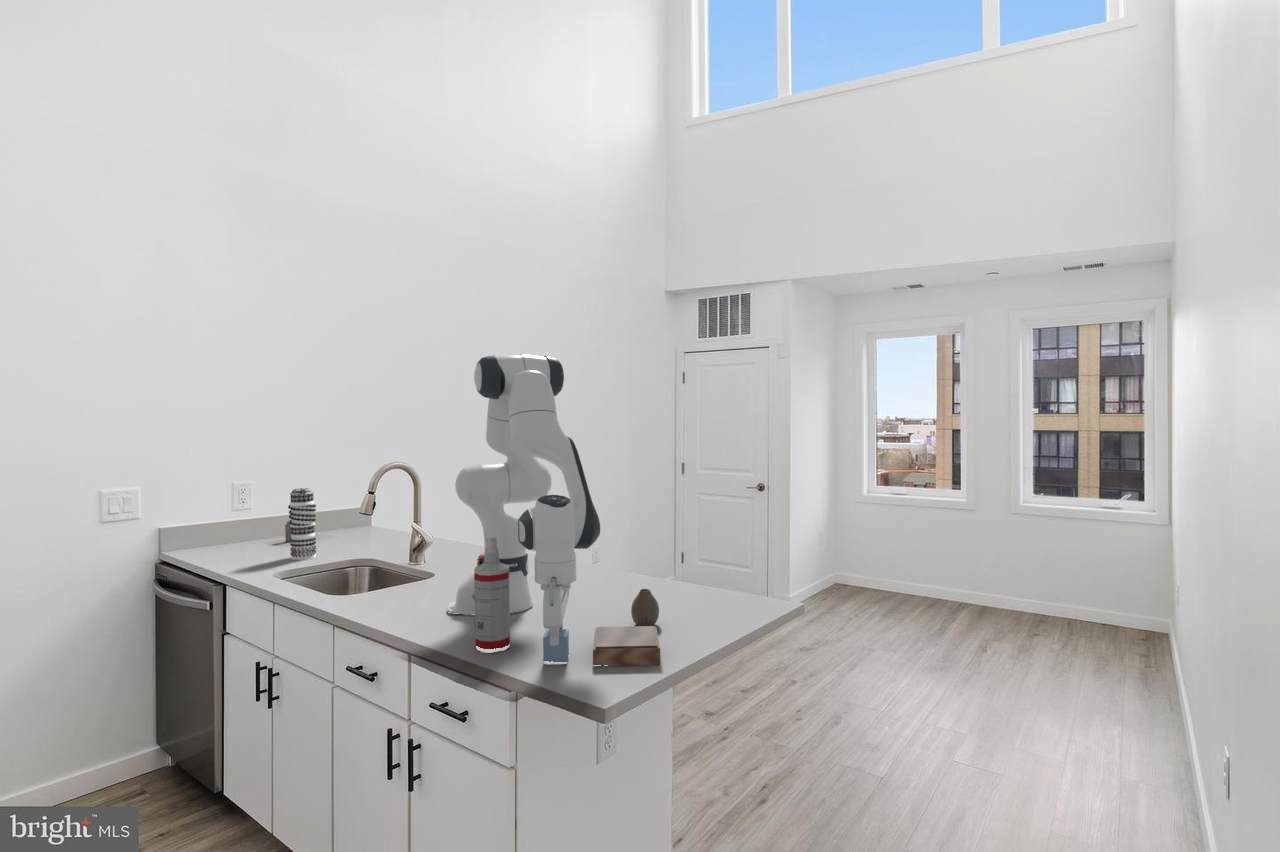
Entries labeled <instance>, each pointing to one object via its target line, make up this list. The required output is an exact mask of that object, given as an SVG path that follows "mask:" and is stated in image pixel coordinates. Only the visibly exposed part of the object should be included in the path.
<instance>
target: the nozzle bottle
mask: <svg viewBox="0 0 1280 852" xmlns="http://www.w3.org/2000/svg"><path fill="white" fill-rule="evenodd" d="M483 554H484V563H483V564H481V565H479V566H475V567H474V571H473V573H474V585H475V616H474V630H475V631H474V637H475V638H474V639H475V640H474V641H475V644H474V646H478V647H480V648H483V649H494V648H495V649H496V648H503V647H505V646H508V645H509V644H510V645H511V614H510V591H509V565H505V564H503V563H500V561H499V551H498V549H497V537H492V538H486V549H485V548H484V553H483Z"/></svg>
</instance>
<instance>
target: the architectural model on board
mask: <svg viewBox="0 0 1280 852" xmlns="http://www.w3.org/2000/svg"><path fill="white" fill-rule="evenodd" d="M289 521H290V520H288V521H286V523H285V525H284V527H285V535H284V536H285V543H289V544H291V541H290V539H292V538H291V533H292V531H291V527H290V525H291V524H290V523H289ZM314 523H316V521H314ZM315 526H316V524H315V525H314V532H315V533H316V530H315V529H316V527H315Z"/></svg>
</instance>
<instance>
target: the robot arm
mask: <svg viewBox="0 0 1280 852" xmlns="http://www.w3.org/2000/svg"><path fill="white" fill-rule="evenodd" d="M473 379H474V380H473V381H474V385H475V388H476V391H477V392H478V394H479V395H480V396H481V397H483V398H486V399H488V404H487V411H486V412H487V414H486V415H487V416H486V418H487V419H486V432H485V433H486V434H485V438H486V439H485V440H486V443H487V445H488V446H489V447H490V448H491V449H492V450H493V451H494V452H497V453H499V454H501V455H503V456H505V457H506V462H502V463H501V462H500V463H481V464H475V465H471V466H467V467H464V468H462V469H461V470H460V472H459V473H458V475H457V476H456V479H455V484H454V485H455V492H456V495H457V497H458V499H459V500H460V501H461V502H462V503H463V504H465V505H466V506H468V507H469V508H470V509H471V510H472V511H473V512H474V513H475V514H476V516H477V517H478V519H479V521H480V523H481V527H482V530H483V531H482V532H483V542H484V544H483V545H484V550H485V549H486V538H492V537H497V549H498V551H499V561H500V563H503V564H505V565H509V591H510V613H511V614H516V613H520V612H523V611H526V610H529V609H531V608H532V607H533V606H534V604H533V600H532V597H531V591H530V586H529V580H528V574H529V554H528V553H527V550H528V551H534V552H535V556H534V581H535V583H536V584H537V585H540V589H541V590H542V591H543V596H542V597H543V599H542V625H543V628H544V630H549V635H550V645H552V646H557V645H559V629H563V628H564V617H565V615H566V610H567V605H568V603H569V602H568V601H569V595H570V589H571V588H572V584H571V583H574V582H576V581H577V579H578V578H577V555H576V552H575V551H576V549H577V550H580V549H581V550H582V549H583V550H584V549H585V550H587V549H590V547H591V546H592V545H594V543H595V542H596V541H597V540H598V539H599V537H600V535H601V523H600V517H599V515H598V512H597V509H596V507H595V505H594V503H593V500H592V497H591V493H590V489H589V486H588V483H587V479H586V475H585V473H584V468H583V464H582V461H581V459H580V455H579V451H578V449H577V447H576V444H575V442H574V440H573V439H572V437H569V436H568V435H566V433H564V430H563V429H562V428H561V426H560V423H559V420H558V412H557V406H556V401H555V397H557V396H558V395H559V393H561V392H562V390H563V386H564V382H565V374H564V367H563V365H562V363H561V362H560V361H559V359H558V358H556V357H552V356H548V355H544V356H540V355H533V354H519V355H517V354H514V355H513V354H510V355H509V354H508V355H499V356H496V355H488V356H484V357H480V359H479V360H478V361H477V364H476V366H475V369H474V373H473ZM537 458H538V459H541V460H544V461H547V462H549V463H551V464H553V465H555V467H557V468H558V469H559V470H560V471H561V473H562V475H563V478H564V482H565V485H566V489H567V493H568V496H569V497H567V496H564V495H560V494H549V493H550V492H551V487H552V481H553V479H552V476H551V473H550V470H549V468H547V466H545V465H544V464H543V463H542V462H541V461H539V460H538V459H537ZM534 501H535V506H534V507H532V508H529V509H526V510H525V511H524V512H522V514H521V515H520V516H519V517H518V518H516V517H514V516H512V515H510V514H507V513H505V508H504V505H506V504H507V505H509V504H521V503H524V504H525V503H531V502H534ZM484 554H485V553H480V554H479V555H478V557H477V559H476V565H477V566H479V565H481V564H483V563H484ZM455 596H456V597H455V599H454V600H452V601H451V602H450V603H449V604H448V605H447V610H448V611H449V612H450V613H459V614H475V585H474V572H472V573H471V574H470V575H469V576H468V577H467V578H465V580H463V581H462V582H461V583H460V584H459V586H458V589H457V591H456V595H455ZM515 612H516V613H515Z"/></svg>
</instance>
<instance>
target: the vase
mask: <svg viewBox="0 0 1280 852" xmlns="http://www.w3.org/2000/svg"><path fill="white" fill-rule="evenodd" d="M630 611H631V612H630V614H631V619H632V621H633V622H634V624H635V625H636V626H655V625H656V623H657V622H658V619H659V616H660V607H659V603H658V601H657V599H656V598H655V596H654V595H653V594H652V592H651V590H650V589H649V588H641V589H640V590H639V592H638V594H637V595H636V596H635V598H634V599H633V601H632V604H631V608H630Z"/></svg>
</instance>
